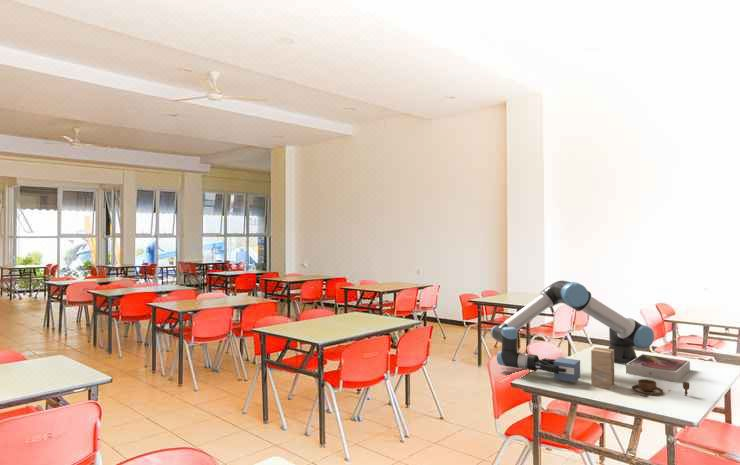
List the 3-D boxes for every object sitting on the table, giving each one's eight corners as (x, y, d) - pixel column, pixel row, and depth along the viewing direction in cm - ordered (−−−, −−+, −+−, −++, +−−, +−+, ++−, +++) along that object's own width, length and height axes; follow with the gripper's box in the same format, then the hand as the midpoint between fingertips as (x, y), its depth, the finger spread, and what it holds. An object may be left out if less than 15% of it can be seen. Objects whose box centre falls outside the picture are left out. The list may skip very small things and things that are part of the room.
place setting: (643, 385, 229) (642, 372, 229) (691, 396, 213) (691, 382, 213) (623, 392, 218) (623, 379, 218) (673, 405, 202) (673, 390, 202)
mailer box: (595, 381, 234) (595, 347, 234) (614, 384, 229) (614, 349, 229) (591, 385, 227) (591, 350, 227) (610, 388, 223) (610, 352, 223)
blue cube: (559, 374, 241) (559, 357, 241) (580, 377, 235) (580, 360, 235) (553, 378, 233) (553, 361, 233) (574, 382, 227) (574, 364, 227)
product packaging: (626, 374, 247) (625, 364, 247) (642, 363, 267) (642, 354, 267) (676, 383, 232) (676, 372, 232) (689, 370, 252) (689, 360, 252)
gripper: (536, 364, 254) (583, 371, 240) (520, 374, 236) (570, 382, 222) (536, 349, 254) (582, 356, 240) (520, 358, 236) (570, 365, 222)
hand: (576, 369), depth 231 cm, fingers closed on blue cube, 9 cm apart
